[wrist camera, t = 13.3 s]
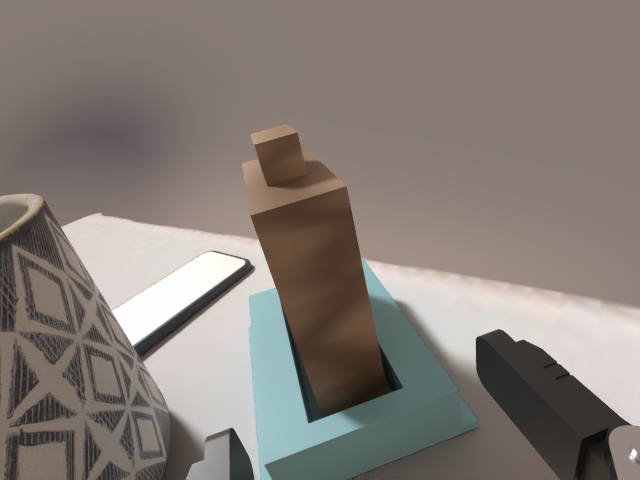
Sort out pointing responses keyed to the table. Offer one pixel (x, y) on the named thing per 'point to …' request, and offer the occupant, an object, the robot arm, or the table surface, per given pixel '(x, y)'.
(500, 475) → the table surface
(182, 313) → the phone case
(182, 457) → the table surface
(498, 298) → the table surface
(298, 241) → the brown wooden bottle
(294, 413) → the teal rack
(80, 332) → the planter
